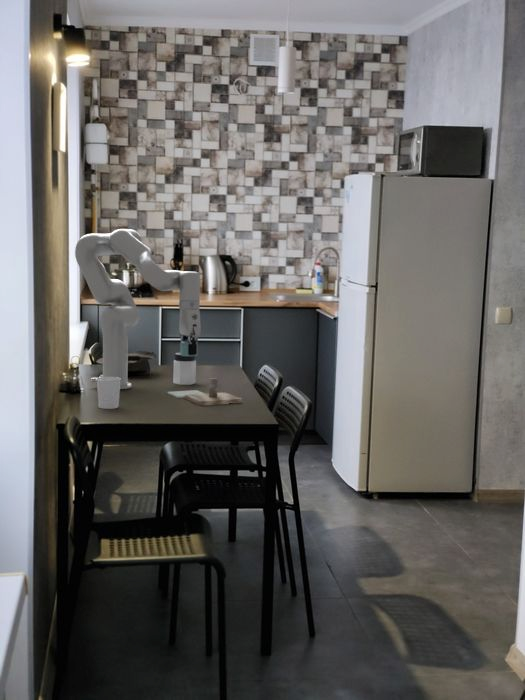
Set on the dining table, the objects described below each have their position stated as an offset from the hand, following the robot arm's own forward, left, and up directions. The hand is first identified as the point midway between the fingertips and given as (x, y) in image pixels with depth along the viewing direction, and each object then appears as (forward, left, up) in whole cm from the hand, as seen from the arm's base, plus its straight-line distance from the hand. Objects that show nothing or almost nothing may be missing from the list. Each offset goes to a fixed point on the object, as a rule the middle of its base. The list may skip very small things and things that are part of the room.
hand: (188, 353), depth 342 cm
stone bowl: (-5, +54, -16) cm, 57 cm away
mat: (0, 0, -16) cm, 16 cm away
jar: (+9, +24, -16) cm, 30 cm away
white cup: (-35, -13, -16) cm, 41 cm away
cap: (0, 0, -1) cm, 1 cm away
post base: (+4, -14, -16) cm, 21 cm away
